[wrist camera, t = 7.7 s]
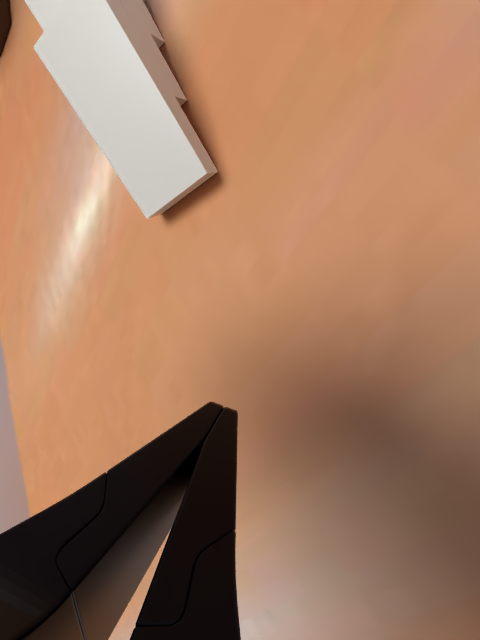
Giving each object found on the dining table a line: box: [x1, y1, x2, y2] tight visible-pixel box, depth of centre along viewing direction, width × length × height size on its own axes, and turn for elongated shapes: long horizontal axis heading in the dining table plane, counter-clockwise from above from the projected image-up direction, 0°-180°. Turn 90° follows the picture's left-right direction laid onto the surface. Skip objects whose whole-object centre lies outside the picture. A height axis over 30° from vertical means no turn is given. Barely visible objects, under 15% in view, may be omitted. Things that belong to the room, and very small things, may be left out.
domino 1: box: [33, 0, 218, 219], centre depth 20 cm, size 2×5×11 cm
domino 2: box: [25, 0, 187, 106], centre depth 20 cm, size 2×5×11 cm
